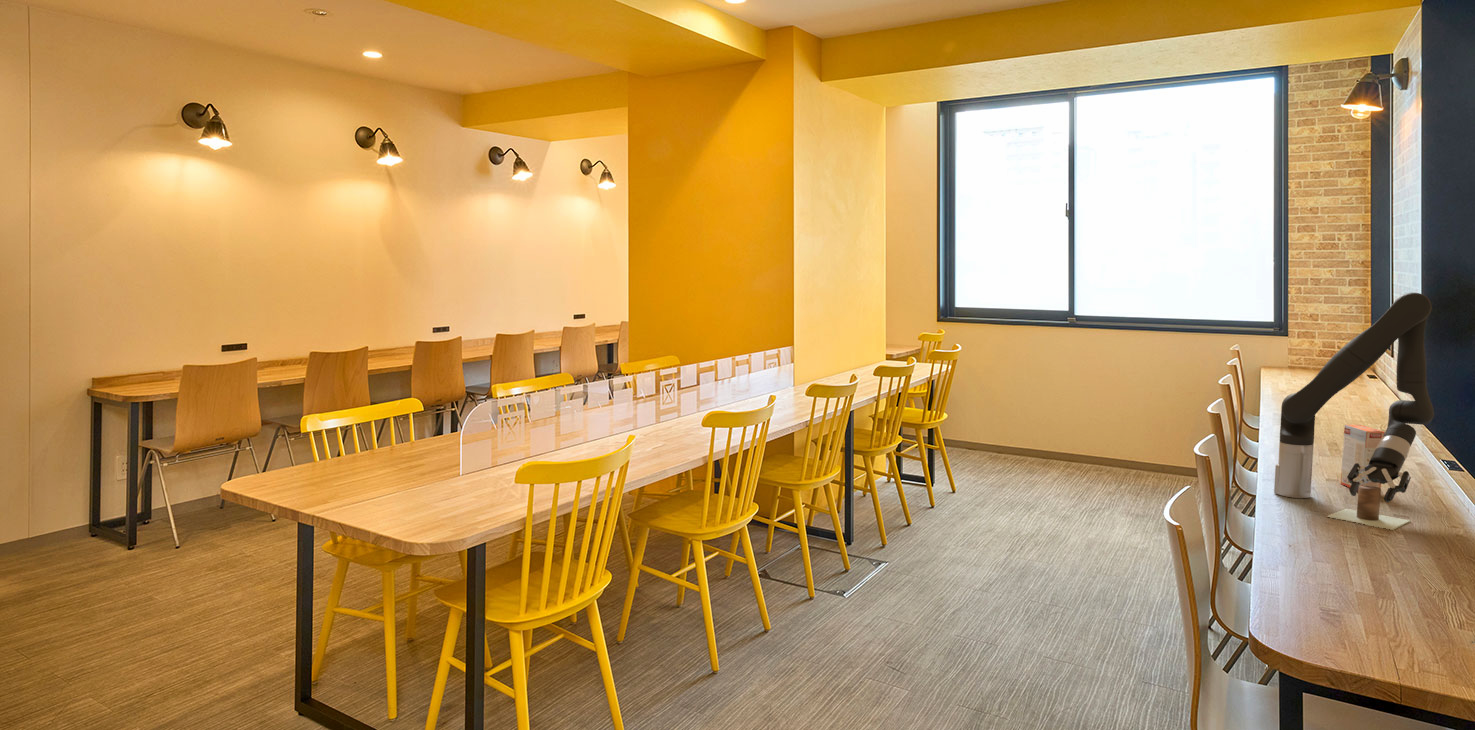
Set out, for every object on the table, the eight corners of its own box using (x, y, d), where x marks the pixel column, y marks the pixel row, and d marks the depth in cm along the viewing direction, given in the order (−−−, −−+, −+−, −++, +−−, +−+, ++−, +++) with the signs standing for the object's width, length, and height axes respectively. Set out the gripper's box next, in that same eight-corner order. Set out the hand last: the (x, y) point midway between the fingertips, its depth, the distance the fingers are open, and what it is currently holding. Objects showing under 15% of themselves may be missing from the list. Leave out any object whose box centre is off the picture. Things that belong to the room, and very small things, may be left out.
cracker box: (1381, 495, 275) (1386, 431, 273) (1360, 494, 276) (1365, 430, 274) (1359, 484, 289) (1363, 424, 287) (1339, 484, 290) (1343, 423, 288)
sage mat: (1327, 517, 250) (1327, 516, 250) (1345, 509, 258) (1345, 508, 258) (1392, 530, 237) (1392, 528, 237) (1410, 521, 245) (1410, 520, 245)
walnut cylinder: (1353, 517, 248) (1355, 487, 247) (1360, 514, 251) (1362, 484, 250) (1374, 521, 244) (1377, 491, 243) (1381, 518, 247) (1383, 488, 246)
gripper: (1359, 442, 255) (1337, 484, 251) (1415, 450, 243) (1394, 495, 239) (1366, 458, 259) (1345, 499, 254) (1422, 466, 246) (1401, 510, 242)
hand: (1369, 497), depth 246 cm, fingers open, 8 cm apart
